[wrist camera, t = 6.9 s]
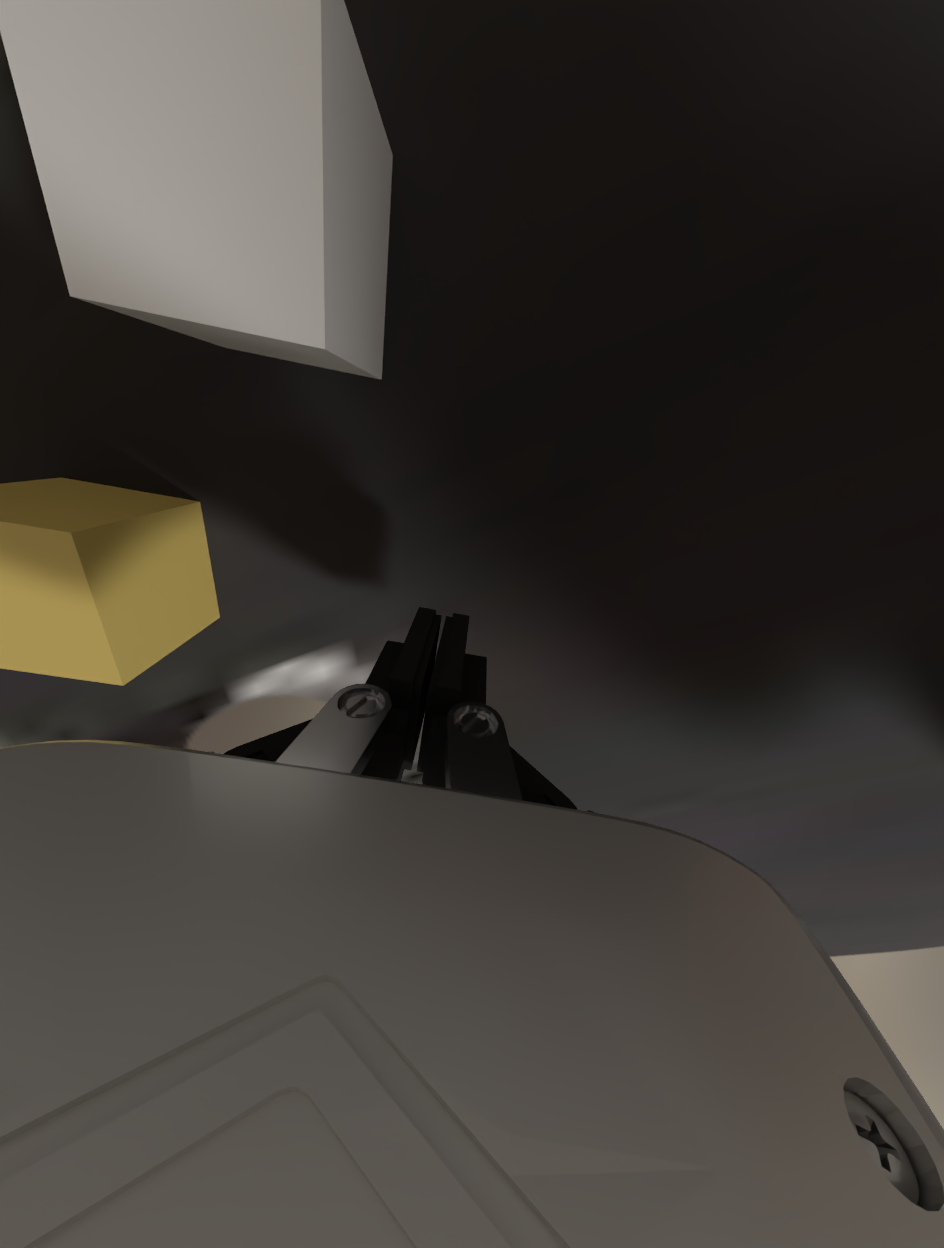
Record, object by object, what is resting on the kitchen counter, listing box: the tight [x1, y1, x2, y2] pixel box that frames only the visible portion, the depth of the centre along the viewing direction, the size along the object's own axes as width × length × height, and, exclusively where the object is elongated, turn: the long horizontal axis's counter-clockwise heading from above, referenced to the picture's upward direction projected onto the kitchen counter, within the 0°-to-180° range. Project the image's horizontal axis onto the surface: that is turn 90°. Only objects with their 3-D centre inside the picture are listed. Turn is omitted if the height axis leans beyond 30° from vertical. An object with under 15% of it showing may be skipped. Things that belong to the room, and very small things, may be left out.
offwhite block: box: [0, 0, 393, 380], centre depth 8 cm, size 5×5×5 cm
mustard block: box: [0, 478, 220, 686], centre depth 13 cm, size 5×5×5 cm
